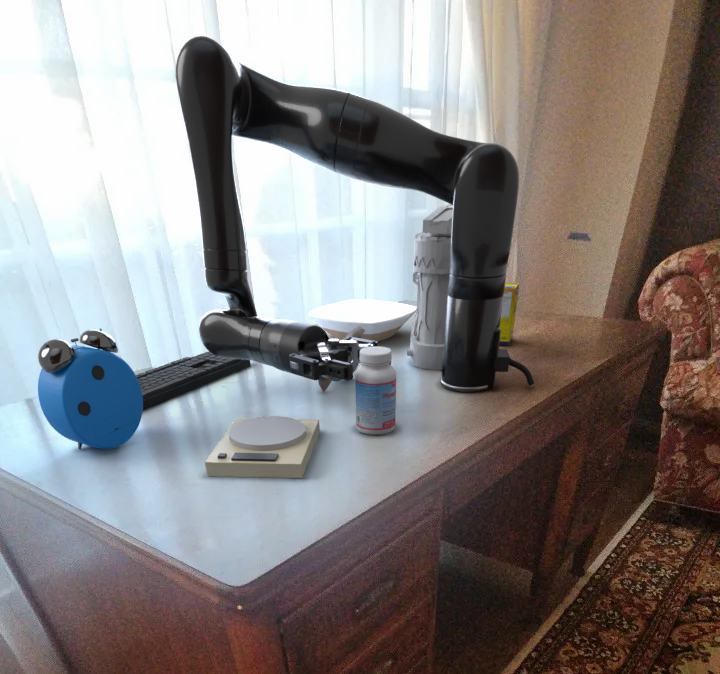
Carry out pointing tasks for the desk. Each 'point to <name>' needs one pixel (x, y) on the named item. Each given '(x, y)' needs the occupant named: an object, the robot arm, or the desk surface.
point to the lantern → (431, 289)
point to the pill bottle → (375, 391)
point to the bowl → (363, 318)
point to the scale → (264, 448)
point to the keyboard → (185, 376)
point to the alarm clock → (89, 391)
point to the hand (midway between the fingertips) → (371, 365)
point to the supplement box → (508, 312)
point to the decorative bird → (357, 334)
